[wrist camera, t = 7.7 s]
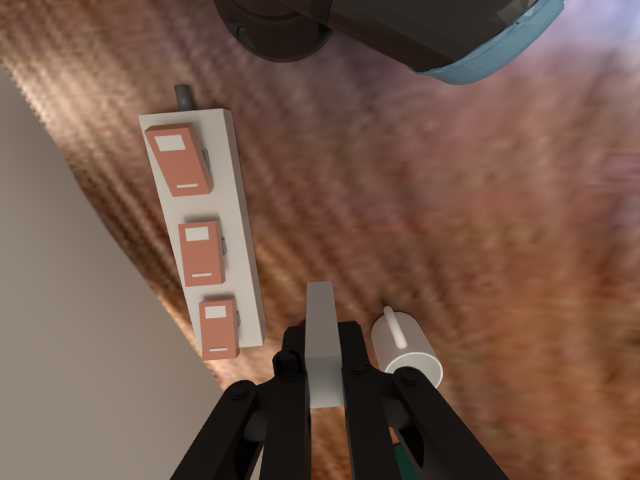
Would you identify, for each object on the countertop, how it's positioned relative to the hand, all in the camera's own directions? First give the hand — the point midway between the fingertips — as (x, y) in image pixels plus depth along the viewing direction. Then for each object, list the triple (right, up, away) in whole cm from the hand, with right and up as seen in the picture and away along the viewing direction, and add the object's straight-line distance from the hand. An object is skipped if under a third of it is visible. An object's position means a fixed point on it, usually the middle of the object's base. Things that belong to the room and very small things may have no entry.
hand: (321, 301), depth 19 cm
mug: (+12, -10, +32) cm, 36 cm away
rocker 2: (-15, +2, +20) cm, 25 cm away
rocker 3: (-14, -9, +24) cm, 29 cm away
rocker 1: (-16, +13, +16) cm, 26 cm away
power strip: (-16, +6, +26) cm, 30 cm away
